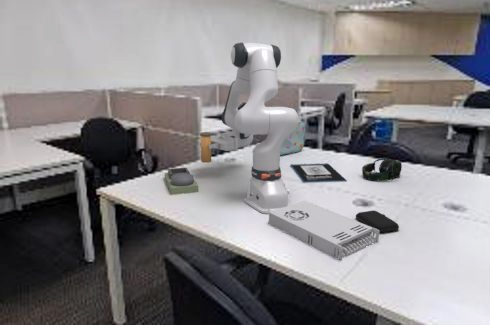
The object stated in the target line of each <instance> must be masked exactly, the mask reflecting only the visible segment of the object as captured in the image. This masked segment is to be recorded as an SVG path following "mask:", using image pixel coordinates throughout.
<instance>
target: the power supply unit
mask: <svg viewBox="0 0 490 325" xmlns="http://www.w3.org/2000/svg"><path fill="white" fill-rule="evenodd" d="M268 224H269V225H271V226H273V227H275V228H276V229H279V230H281V231H282V232H285V233H287V234H289V235H290V236H293V237H294V238H297V239H298V240H301V241H302V242H304V243H306V244H309V245H310V246H312V247H314V248H316V249H317V250H320V251H321V252H324V253H326V254H328V255H330V256H331V257H334V258H335V259H338V260H339V261H343V259H345V258H348V257H350V256H352V255H354V254H355V253H357V252H359V251H362V250H364V249H366V248H367V247H366V246H368V247H370V246H372V245H373V244H372V243H374V244H376V243H377V242H378V243H379V240H380V233H379V232H380V231H379V230H378V229H375V228H373V227H370V226H368V225H365V224H363V223H362V222H360V221H359V220H355V219H352V218H350V217H347V216H344V215H342V214H340V213H337V212H334V211H332V210H329V209H327V208H324V207H323V206H320V205H317V204H314V203H312V202H310V201H307V200H303V201H299V202H297V203H292V205H290V206H287V207H283V208H280V209H277V210H274V211H271V212H269V214H268ZM369 245H370V246H369Z"/></svg>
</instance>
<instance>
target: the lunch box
mask: <svg viewBox="0 0 490 325" xmlns="http://www.w3.org/2000/svg"><path fill="white" fill-rule="evenodd" d="M306 128H307V127H306V123H305V122H304V121H302V120H299V124H298V127H297V128H296V130H295V131H294V132H293V133H291V134H290V135H289V136H288V137H287V138H286V140H285V141H284V143H283V145H282V148H281V153H280V156H284V155H292V154H294V153H299V152H301V151H302V150H303V148H304V147H305V141H306V131H307V130H306Z"/></svg>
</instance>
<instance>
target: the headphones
mask: <svg viewBox="0 0 490 325" xmlns="http://www.w3.org/2000/svg"><path fill="white" fill-rule="evenodd" d="M379 161H381V163H380V164H379V168H378V171H379V172H377V171H376V162H379ZM402 168H403V166H402V162H401V161H399V160H396V159H392V158H389V157H383V158H377V159H376V160H375V161H373V162H370V163H366V164H364V165H363V166H362V168H361V171H362V173H361V174H362V176H363V178H364V179H365V180H368V181H373V182H375V181H376V182H377V181H381V182H382V181H389V180H393V179H396V178H399V177H400V176H401V172H402ZM373 171H374V172H373Z"/></svg>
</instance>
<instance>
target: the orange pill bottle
mask: <svg viewBox="0 0 490 325" xmlns="http://www.w3.org/2000/svg"><path fill="white" fill-rule="evenodd" d="M199 136H200V142H201V146H200V162H201V163H211V162H212V148H211V149H210V148H208V145H209V144H211V136H212V132H209V131H204V132H203V131H202V132H200V133H199Z"/></svg>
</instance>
